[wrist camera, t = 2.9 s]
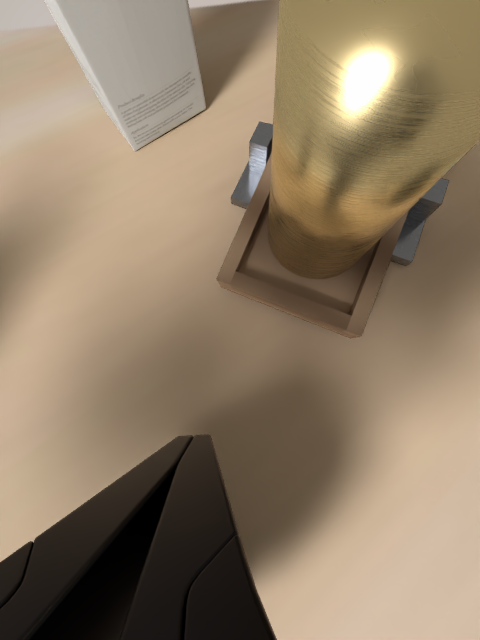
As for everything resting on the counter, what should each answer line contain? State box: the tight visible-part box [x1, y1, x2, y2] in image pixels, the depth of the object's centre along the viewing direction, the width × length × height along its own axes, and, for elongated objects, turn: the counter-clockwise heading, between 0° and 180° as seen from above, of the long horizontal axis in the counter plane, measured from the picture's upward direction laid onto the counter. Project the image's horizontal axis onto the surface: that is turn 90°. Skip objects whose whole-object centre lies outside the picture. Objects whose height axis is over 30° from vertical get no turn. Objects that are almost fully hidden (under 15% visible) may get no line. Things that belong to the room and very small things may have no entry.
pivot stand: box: [231, 122, 449, 266], centre depth 22 cm, size 8×15×4 cm, turn 67°
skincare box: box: [44, 0, 206, 151], centre depth 19 cm, size 8×7×16 cm
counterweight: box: [268, 0, 480, 279], centre depth 13 cm, size 7×7×14 cm
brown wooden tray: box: [217, 153, 409, 338], centre depth 21 cm, size 23×10×2 cm, turn 157°
